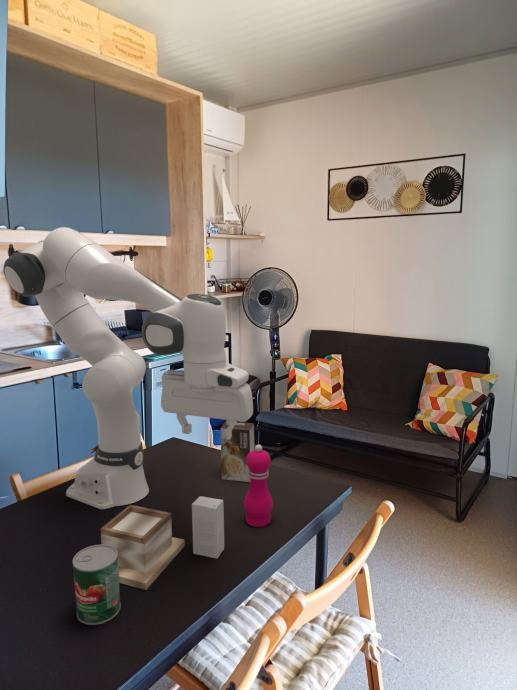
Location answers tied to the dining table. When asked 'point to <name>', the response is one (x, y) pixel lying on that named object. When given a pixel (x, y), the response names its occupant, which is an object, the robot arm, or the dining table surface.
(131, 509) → the display stand
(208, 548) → the skincare box
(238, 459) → the coffee box
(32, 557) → the dining table surface
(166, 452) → the dining table surface
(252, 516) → the pepper mill
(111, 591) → the canned tomato
